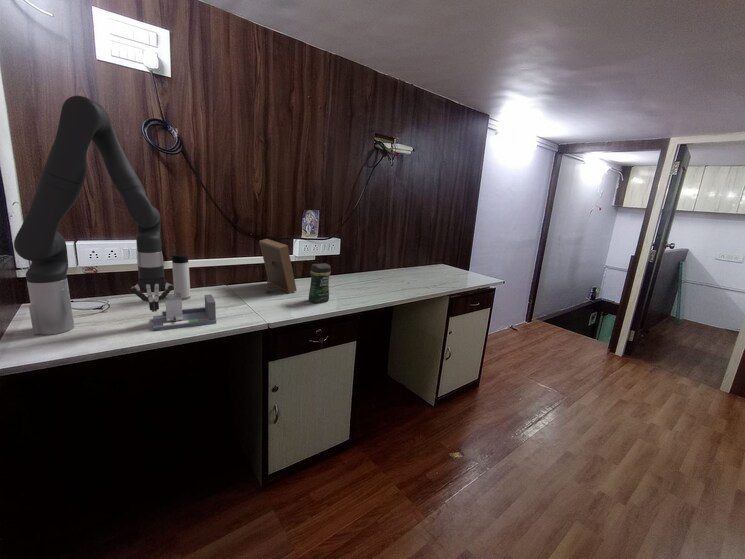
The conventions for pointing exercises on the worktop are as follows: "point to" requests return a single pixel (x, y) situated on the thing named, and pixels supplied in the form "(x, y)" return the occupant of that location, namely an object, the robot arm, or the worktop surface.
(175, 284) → the travel mug
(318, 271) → the coffee jar
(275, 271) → the photo frame
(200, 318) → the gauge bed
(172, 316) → the carriage
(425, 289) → the worktop surface
